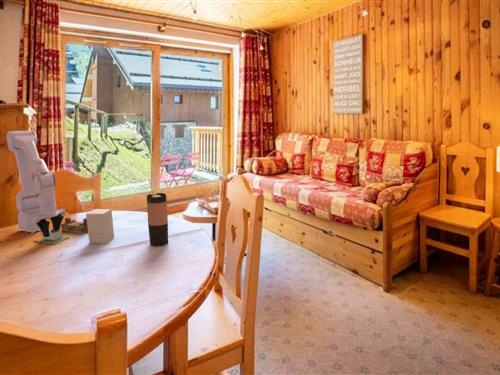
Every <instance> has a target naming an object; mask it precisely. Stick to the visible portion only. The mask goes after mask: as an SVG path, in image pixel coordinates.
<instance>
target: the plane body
mask: <svg viewBox="0 0 500 375" xmlns="http://www.w3.org/2000/svg"><path fill="white" fill-rule="evenodd" d="M60 229H61V230H67V231H66V232H69V231H72V232H71V233H77V232H78V234H84V233H85V234H88V233H87V232H88V226H87V218H86V217H85V218H82V222H81V221H77V220H76V219H72V218H71V217H64V222H63V223H61V225H60Z"/></svg>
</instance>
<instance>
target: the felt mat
mask: <svg viewBox="0 0 500 375" xmlns="http://www.w3.org/2000/svg"><path fill="white" fill-rule="evenodd" d="M65 239H66V240H69V239H70V237H69V236H63V235H62V238H59V239H57V240H54V241H51V240H44V239H42V240H38V239H36V240H37V241H38V242H37V243H39V242H43V243H42V244H45V243H49V244H48V245H52V244H54V245H56V244H58V242H59V243H61V242H63V240H64V241H66V240H65ZM60 241H61V242H60ZM55 243H56V244H55Z"/></svg>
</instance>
